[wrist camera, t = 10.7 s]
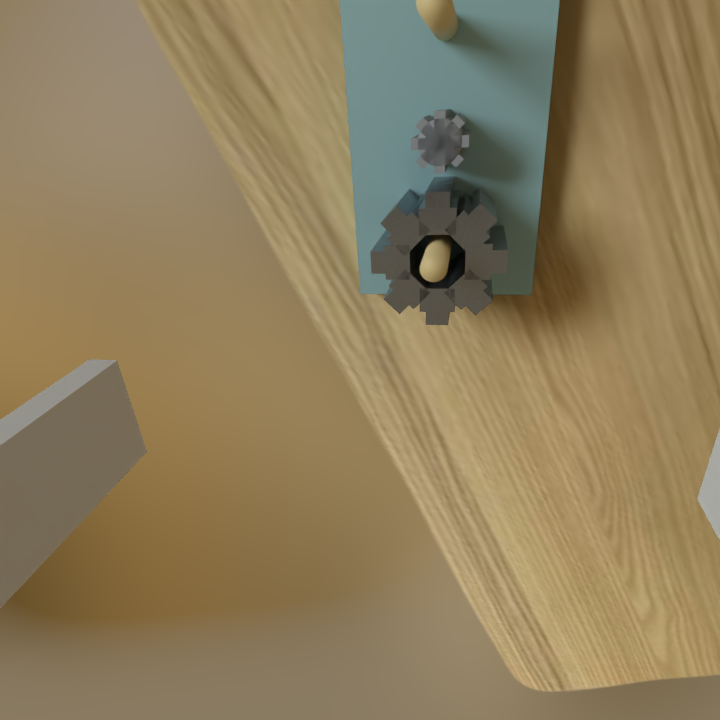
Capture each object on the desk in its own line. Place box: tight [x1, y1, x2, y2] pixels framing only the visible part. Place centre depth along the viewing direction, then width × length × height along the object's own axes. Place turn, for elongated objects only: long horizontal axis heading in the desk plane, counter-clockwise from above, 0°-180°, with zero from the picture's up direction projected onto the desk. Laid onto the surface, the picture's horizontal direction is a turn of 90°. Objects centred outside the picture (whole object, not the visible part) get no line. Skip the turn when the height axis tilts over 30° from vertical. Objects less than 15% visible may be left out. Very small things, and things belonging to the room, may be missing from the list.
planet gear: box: [370, 176, 508, 325], centre depth 26 cm, size 6×6×5 cm
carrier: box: [340, 0, 560, 295], centre depth 23 cm, size 17×10×8 cm, turn 4°
